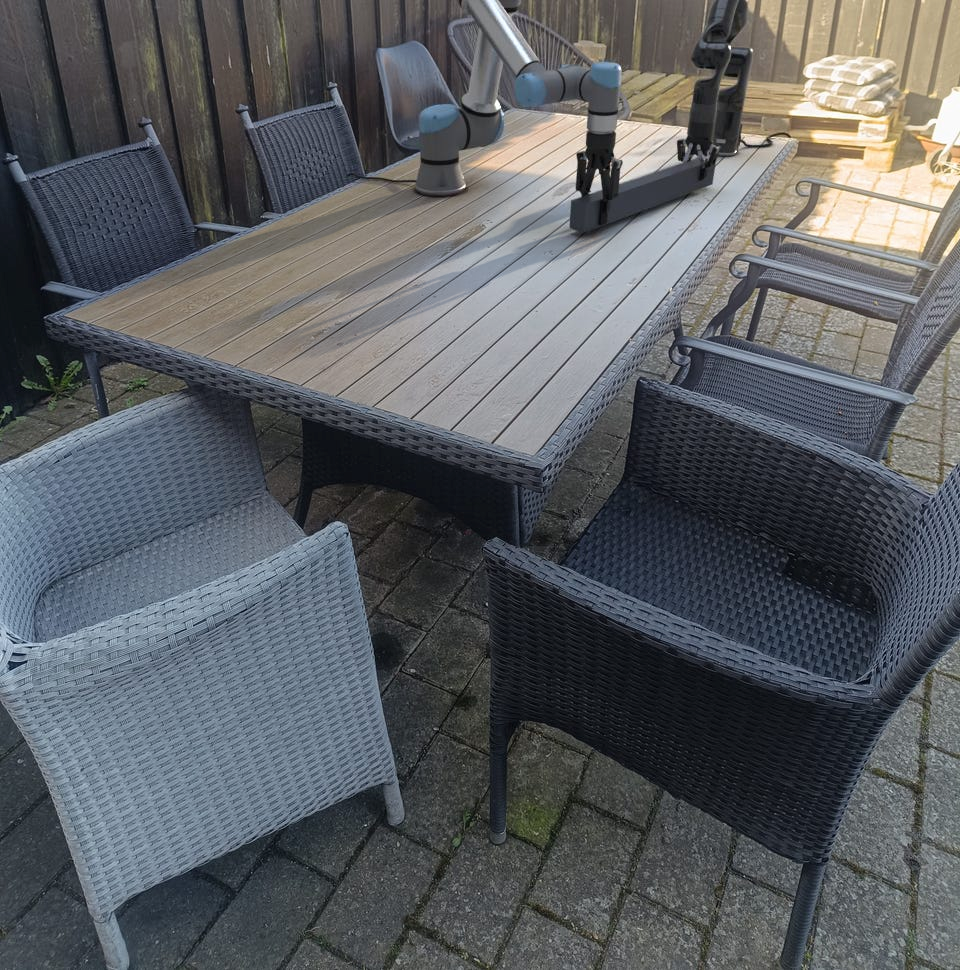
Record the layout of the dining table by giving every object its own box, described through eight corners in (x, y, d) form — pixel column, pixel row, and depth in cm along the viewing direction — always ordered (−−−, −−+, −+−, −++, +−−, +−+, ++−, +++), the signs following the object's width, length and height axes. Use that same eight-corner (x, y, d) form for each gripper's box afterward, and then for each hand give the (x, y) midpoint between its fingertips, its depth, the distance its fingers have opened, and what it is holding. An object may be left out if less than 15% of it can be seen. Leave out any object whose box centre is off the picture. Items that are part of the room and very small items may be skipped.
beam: (583, 232, 222) (585, 204, 218) (569, 228, 225) (571, 200, 221) (712, 184, 258) (716, 159, 254) (698, 181, 261) (702, 156, 257)
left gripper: (639, 134, 211) (629, 226, 225) (583, 122, 221) (577, 210, 235) (621, 139, 207) (612, 233, 220) (564, 127, 217) (559, 217, 231)
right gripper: (730, 120, 242) (721, 180, 252) (688, 112, 250) (680, 171, 260) (716, 125, 238) (707, 186, 248) (674, 116, 246) (666, 176, 256)
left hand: (594, 221), depth 228 cm, fingers closed on beam, 5 cm apart
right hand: (693, 178), depth 254 cm, fingers closed on beam, 5 cm apart
